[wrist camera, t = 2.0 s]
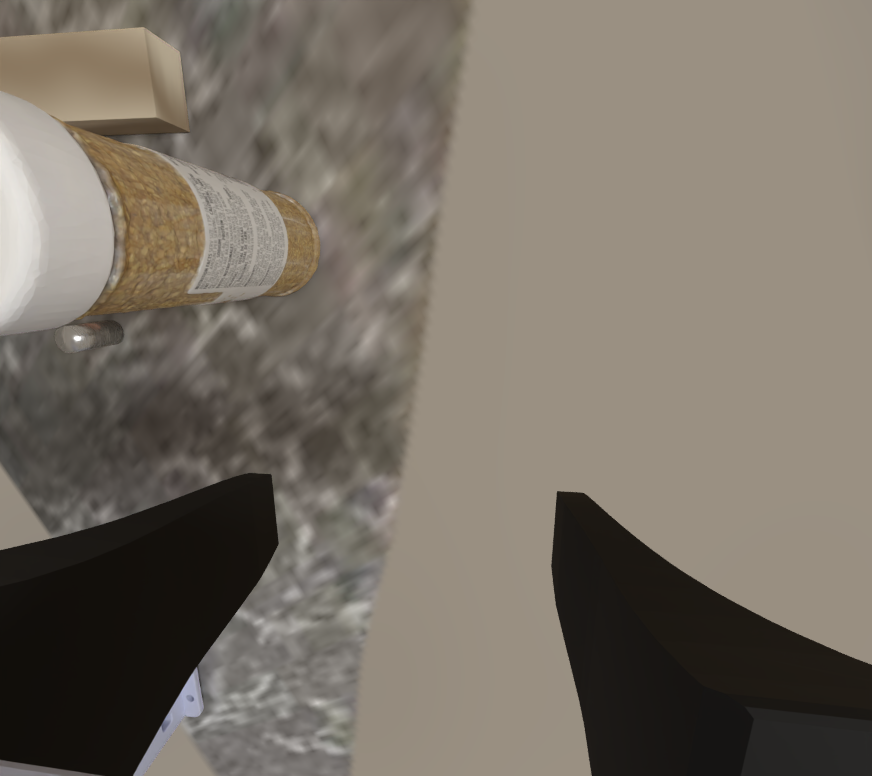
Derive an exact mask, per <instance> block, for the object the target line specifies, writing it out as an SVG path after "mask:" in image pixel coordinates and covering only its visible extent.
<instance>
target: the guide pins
mask: <svg viewBox="0 0 872 776" xmlns="http://www.w3.org/2000/svg"><path fill="white" fill-rule="evenodd" d="M123 337H124V333H123V329H122V327H121V326H120V325H119V324H118V323H117V322H115V321H112V320H107V321H100V322H93V323H85V324H78V325H71V326H63V327H60V328H58V329H57V330H56V332H55V342H56V344H57V346H58V347H59V348H60V349H61V350H62V351H64V352H66V353H75V352H80V351H85V350H90V349H95V348H100V347H105V346H109V345H114V344H119V343H120V342H121V341H122V340H123Z"/></svg>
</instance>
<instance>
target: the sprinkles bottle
mask: <svg viewBox="0 0 872 776" xmlns="http://www.w3.org/2000/svg"><path fill="white" fill-rule="evenodd" d="M319 256H320V239H319V235H318V230H317V227H316V226H315V223H314V221H313V219H312V218H311V216H310V215H309V214H308V212H307V211H306V210H305V209H304V207H302V206H301V205H300V204H299V203H298V202H297V201H295V200H294V199H292V198H291V197H289V196H286V195H284V194H281V193H278V192H273V191H262V190H259V189H257V188H255V187H254V186H252V185H250V184H248V183H245V182H243V181H240V180H237V179H234V178H231V177H229V176H226V175H223V174H220V173H217V172H214V171H211V170H208V169H205V168H203V167H200V166H197V165H194V164H191V163H188V162H185V161H182V160H179V159H176V158H173V157H171V156H168V155H165V154H162V153H160V152H157V151H154V150H151V149H148V148H145V147H142V146H138V145H134V144H128V143H121V142H118V141H116V140H113V139H110V138H107V137H103V136H101V135H98V134H94V133H91V132H89V131H86V130H84V129H81V128H77V127H74V126H71V125H68V124H66V123H64V122H63V121H61V120H59V119H58V118H56V117H54V116H52V115H50V114H47V113H46V112H44V111H43V110H41V109H40V108H38V107H36V106H35V105H33V104H31V103H29V102H28V101H26V100H23V99H21V98H18V97H16V96H14V95H11V94H8V93H5V92H2V91H0V336H3V335H12V334H20V333H27V332H34V331H40V330H47V329H53V328H57V327H61V326H63V325H66V324H68V323H70V322H72V321H73V320H79V319H82V318H84V317H85V316H89V315H91V316H92V315H102V314H110V313H119V312H122V313H125V312H130V311H139V310H152V309H155V308H168V307H174V306H184V305H207V304H215V303H224V302H232V301H239V300H246V299H251V298H254V297H257V296H285V295H289V294H291V293H293V292H295V291H297V290H299V289H300V288H301V287H302V286H304V285H305V284H306V283H307V282H308V281H309V279H310V278H311V277H312V275H313V274H314V272H315V271H316V269H317V266H318V260H319Z"/></svg>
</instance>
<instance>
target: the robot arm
mask: <svg viewBox="0 0 872 776" xmlns="http://www.w3.org/2000/svg"><path fill="white" fill-rule="evenodd" d="M278 544H279V543H278V533H277V524H276V514H275V504H274V495H273V485H272V475H271V474H257V473H247V474H243V475H239V476H236V477H233V478H230V479H227V480H224V481H221V482H218V483H216V484H213V485H210V486H208V487H205V488H202V489H200V490H197V491H195V492H192V493H189V494H187V495H184V496H182V497H179V498H176V499H174V500H171V501H169V502H166V503H163V504H160V505H158V506H155V507H152V508H149V509H146V510H144V511H141V512H138V513H135V514H132V515H130V516H127V517H124V518H121V519H118V520H115V521H112V522H108V523H105V524H102V525H99V526H95V527H92V528H88V529H85V530H81V531H78V532H74V533H71V534H67V535H63V536H60V537H56V538H51V539H47V540H43V541H39V542H34V543H30V544H25V545H21V546H17V547H13V548H8V549H4V550H0V776H143V775H144V774H145V772H146V771H147V769H148V768H149V767H150V765H151V764H152V762H153V761H154V759H155V758H156V756H157V755H158V753H159V752H160V751H161V749H162V748H163V746H164V745H165V743H166V742H167V740H168V739H169V738H170V736H171V735H172V733H173V732H174V730H175V729H176V728H177V726H178V725H179V723H180V722H181V720H182V719H183V718H184V716H189V717H197V716H199V715H200V714H201V712H202V711H203V709H204V706H203V700H202V694H201V688H200V682H199V677H198V671H197V666H198V664H199V663H200V661H201V660H202V658H203V657H204V656H205V654H206V653H207V652H208V650H209V649H210V647H211V646H212V645H213V643H214V642H215V641H216V639H217V638H218V637H219V635H220V634H221V632H222V631H223V630H224V628H225V627H226V626H227V624H228V623H229V622H230V620H231V619H232V617H233V616H234V615H235V613H236V612H237V611H238V609H239V608H240V607H241V605H242V604H243V602H244V601H245V600H246V598H247V597H248V595H249V594H250V593H251V591H252V590H253V588H254V587H255V586H256V584H257V583H258V581H259V580H260V578H261V577H262V575H263V573H264V571H265V569H266V568H267V566H268V564H269V562H270V560H271V558H272V556H273V554H274V552H275V550H276V548H277V546H278ZM551 567H552V575H553V585H554V593H555V601H556V607H557V611H558V616H559V620H560V624H561V628H562V632H563V637H564V640H565V645H566V649H567V653H568V657H569V661H570V665H571V669H572V673H573V677H574V681H575V685H576V689H577V693H578V697H579V701H580V707H581V711H582V716H583V721H584V727H585V733H586V740H587V746H588V753H589V760H590V767H591V773H592V776H872V665H871V664H868V663H865V662H863V661H860V660H857V659H855V658H852V657H850V656H847V655H845V654H842V653H840V652H838V651H836V650H833V649H831V648H829V647H826V646H824V645H822V644H820V643H817V642H815V641H813V640H810V639H808V638H806V637H803V636H801V635H799V634H797V633H795V632H792V631H790V630H788V629H786V628H784V627H782V626H780V625H778V624H775V623H773V622H771V621H769V620H767V619H765V618H763V617H761V616H760V615H758V614H756V613H754V612H752V611H750V610H748V609H746V608H744V607H742V606H740V605H738V604H736V603H735V602H733V601H731V600H729V599H727V598H726V597H724V596H722V595H720V594H718V593H717V592H715V591H713V590H712V589H710V588H708V587H707V586H705V585H703V584H702V583H700V582H699V581H697V580H695V579H693V578H692V577H691V576H689V575H687V574H686V573H684V572H683V571H681V570H680V569H678V568H677V567H675V566H674V565H672V564H671V563H669V562H668V561H666V560H665V559H664V558H662V557H661V556H660V555H658V554H657V553H655V552H654V551H653V550H651V549H650V548H649V547H648V546H646V545H645V544H644V543H642V542H641V541H640V540H639V539H637V538H636V537H635V536H634V535H632V534H631V533H630V532H629V531H627V530H626V529H625V528H624V527H623V526H621V525H620V524H619V523H618V522H617V521H616V520H615V519H613V518H612V517H611V516H610V515H608V513H606V512H605V511H604V510H603V509H602V508H601V507H600V506H599V505H597V504H596V503H595V502H594V501H593V500H592V499H591V498H589V497H588V496H587V495H586V494H584V493H577V492H560V491H557V500H556V513H555V525H554V538H553V552H552V565H551Z"/></svg>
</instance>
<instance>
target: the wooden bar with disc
mask: <svg viewBox="0 0 872 776" xmlns="http://www.w3.org/2000/svg"><path fill="white" fill-rule="evenodd" d="M0 91H2V92H5V93H8V94H11V95H14V96H16V97H18V98H21V99H23V100H26V101H28V102H29V103H31V104H33V105H35V106H36V107H38V108H40V109H41V110H43V111H44V112H46V113H47V114H50V115H52V116H54V117H56V118H58V119H59V120H61V121H63V122H64V123H66V124H68V125H71V126H74V127H77V128H81V129H84V130H86V131H89V132H91V133H94V134H98V135H127V134H153V133H179V132H190V129H189V121H188V113H187V105H186V97H185V89H184V81H183V73H182V65H181V58H180V52H179V51H178V50H176V49H175V48H173V47H172V46H170V45H169V44H167V43H166V42H165V41H163V40H162V39H160V38H159V37H157V36H156V35H154V34H153V33H151V32H150V31H148V30H147V29H146V28H144V27H142V28H127V29H113V30H99V31H84V32H70V33H56V34H41V35H27V36H13V37H0Z"/></svg>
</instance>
